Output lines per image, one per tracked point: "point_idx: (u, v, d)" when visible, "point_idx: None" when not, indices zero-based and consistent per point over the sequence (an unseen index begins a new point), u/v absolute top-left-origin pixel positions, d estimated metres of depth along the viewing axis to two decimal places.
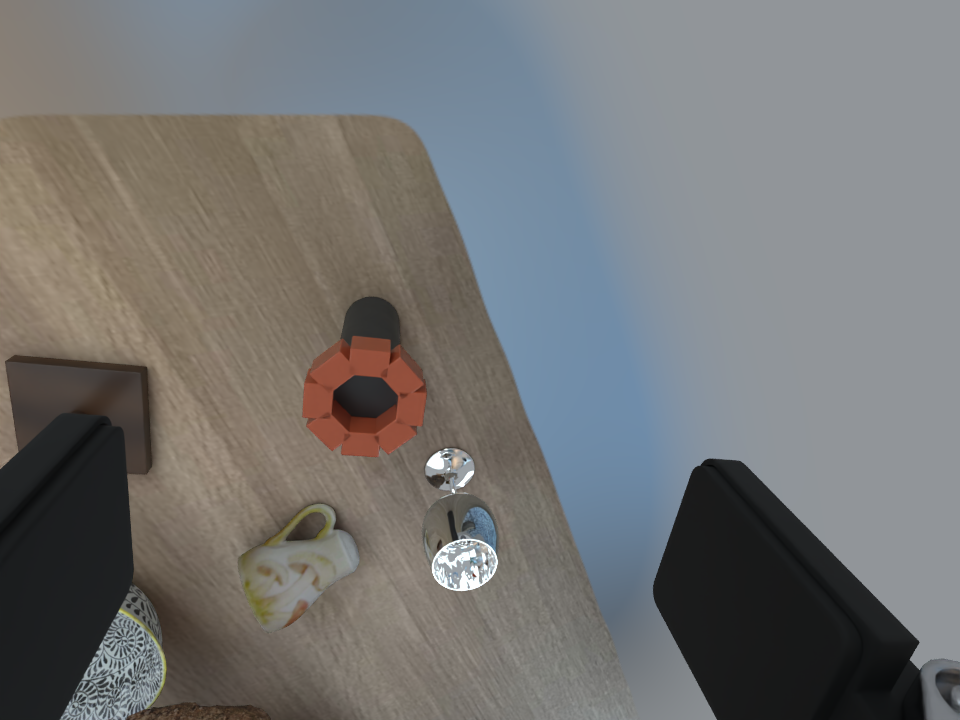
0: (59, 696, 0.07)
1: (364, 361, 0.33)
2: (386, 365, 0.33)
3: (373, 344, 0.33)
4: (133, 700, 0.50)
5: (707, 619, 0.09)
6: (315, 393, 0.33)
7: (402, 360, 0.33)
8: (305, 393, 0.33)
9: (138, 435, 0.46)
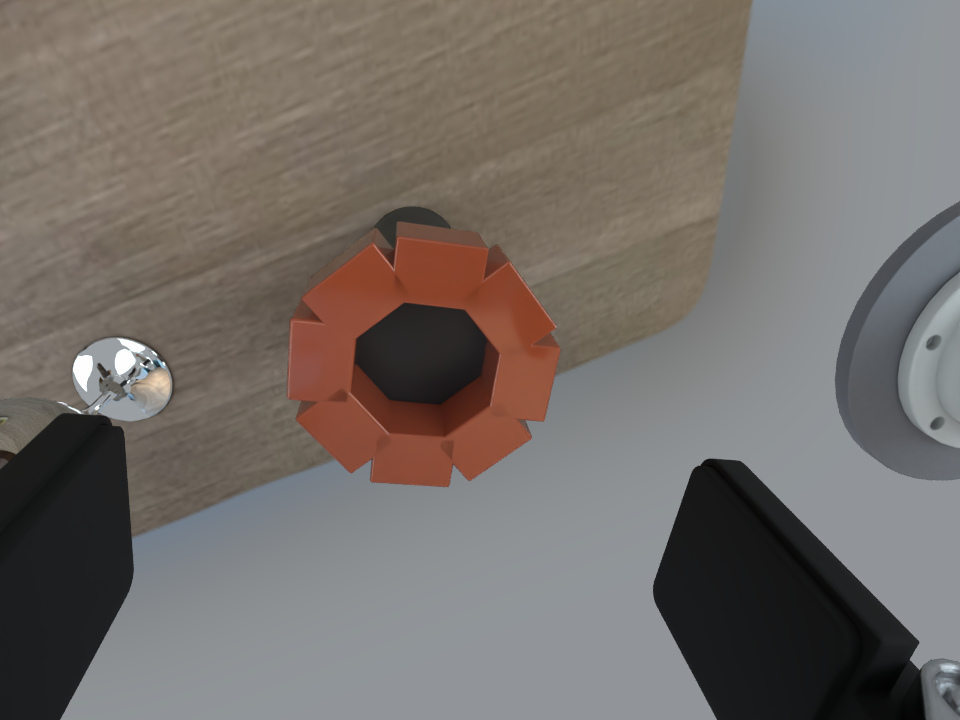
0: (59, 696, 0.07)
1: (529, 375, 0.16)
2: (517, 414, 0.16)
3: None
4: None
5: (707, 619, 0.09)
6: (460, 271, 0.14)
7: (524, 442, 0.16)
8: (462, 249, 0.14)
9: None
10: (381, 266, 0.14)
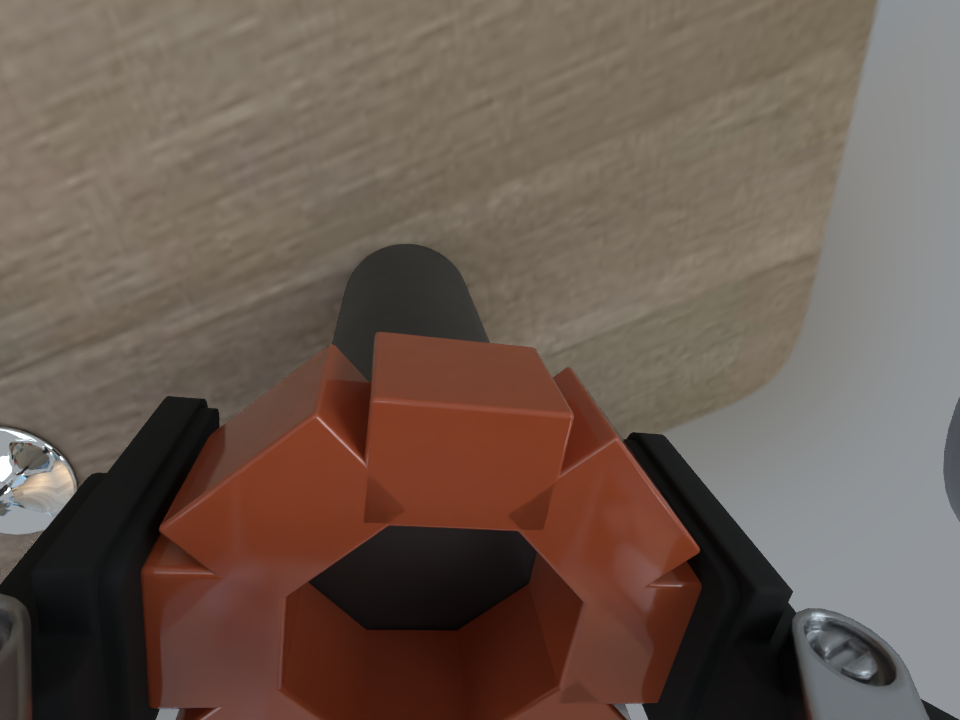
0: None
1: (639, 634, 0.08)
2: (609, 697, 0.08)
3: None
4: None
5: None
6: (512, 462, 0.07)
7: None
8: (516, 418, 0.06)
9: None
10: (337, 460, 0.06)
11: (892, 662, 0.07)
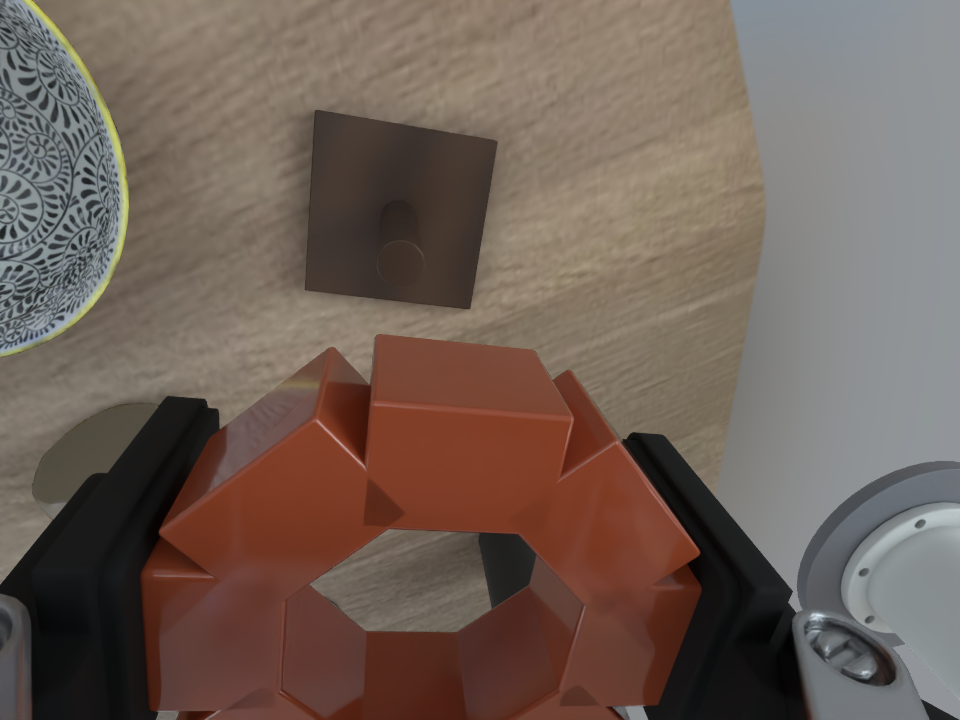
0: None
1: (639, 637, 0.08)
2: (609, 700, 0.08)
3: None
4: None
5: None
6: (512, 464, 0.07)
7: None
8: (516, 421, 0.06)
9: (373, 290, 0.32)
10: (336, 463, 0.06)
11: (892, 662, 0.07)
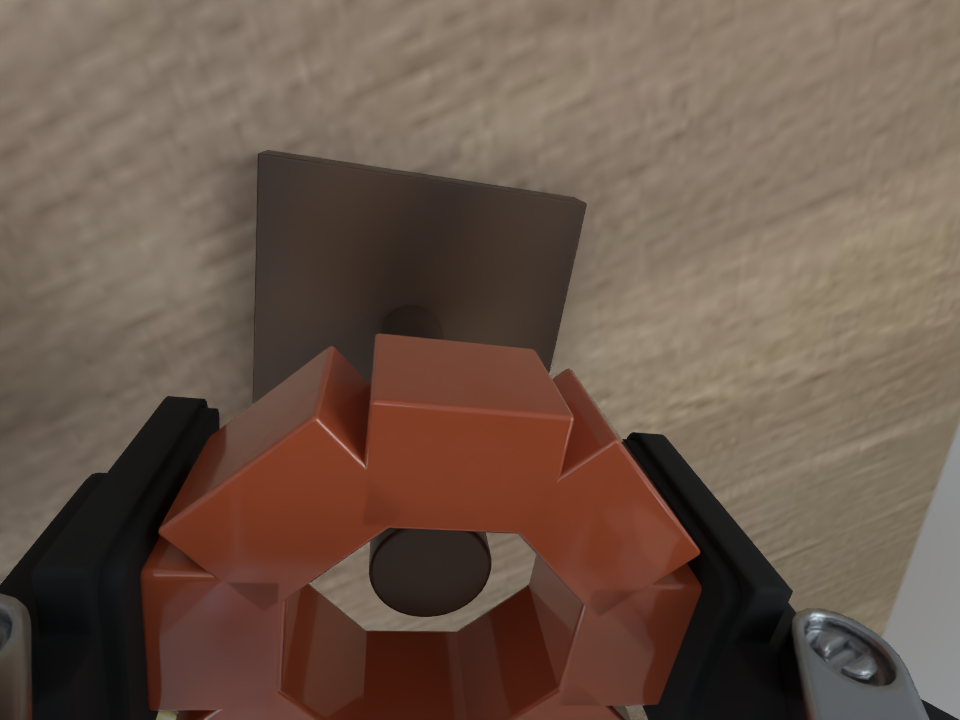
0: None
1: (639, 636, 0.08)
2: (609, 699, 0.08)
3: None
4: None
5: None
6: (512, 464, 0.07)
7: None
8: (516, 420, 0.06)
9: None
10: (336, 462, 0.06)
11: (892, 662, 0.07)
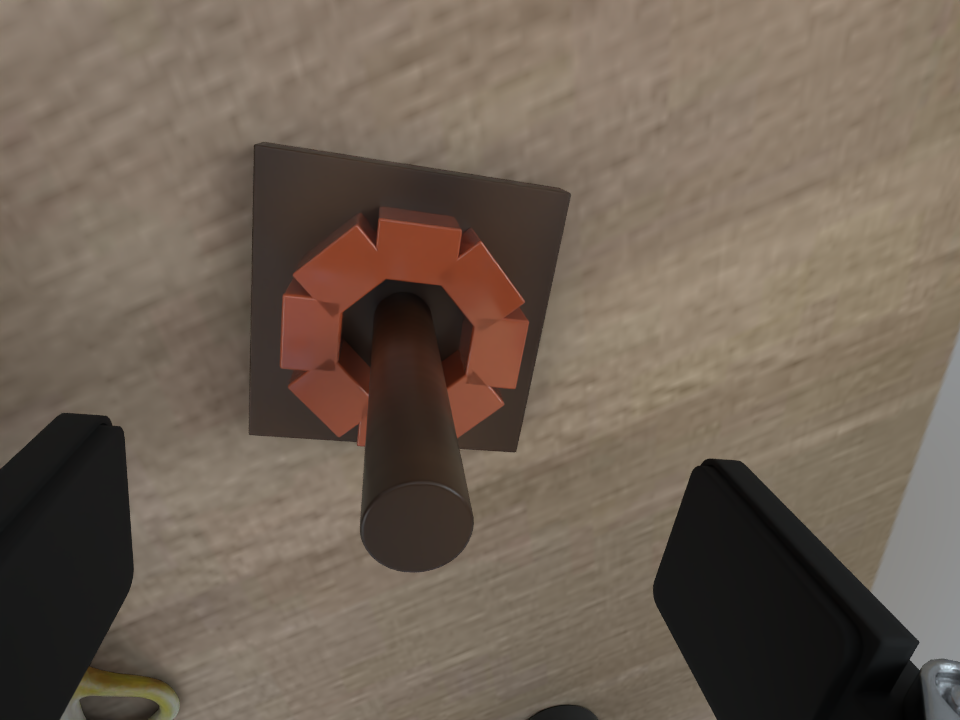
0: (59, 696, 0.07)
1: (501, 346, 0.17)
2: (490, 383, 0.18)
3: None
4: None
5: (708, 620, 0.09)
6: (437, 250, 0.16)
7: (497, 408, 0.18)
8: (437, 230, 0.16)
9: None
10: (365, 246, 0.15)
11: None
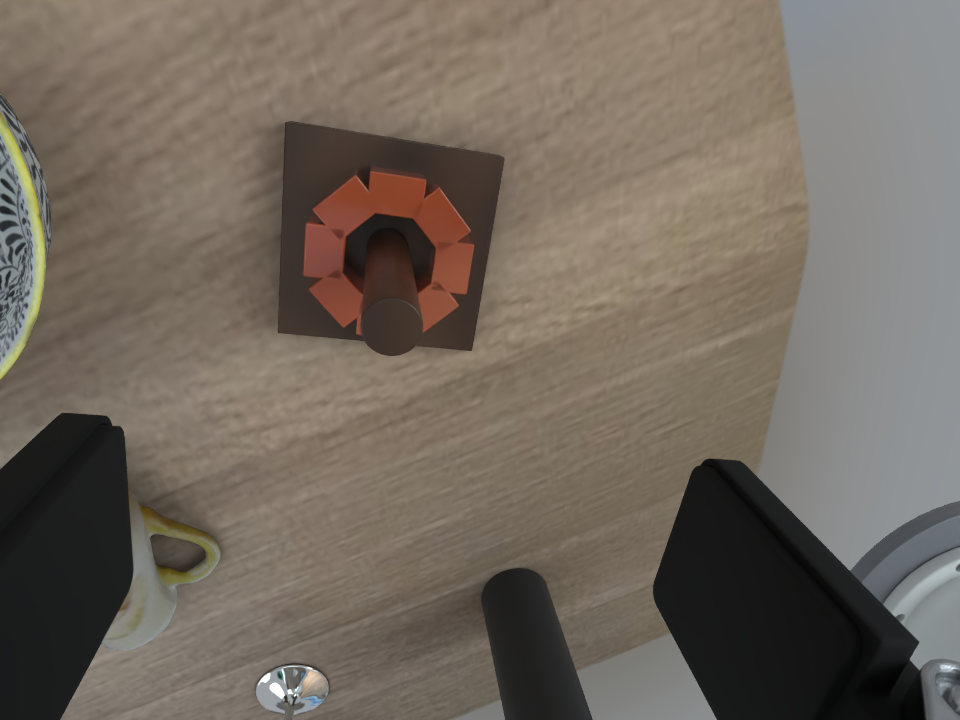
0: (59, 696, 0.07)
1: (455, 262, 0.25)
2: (448, 289, 0.25)
3: None
4: None
5: (707, 619, 0.09)
6: (409, 193, 0.23)
7: (454, 308, 0.26)
8: (409, 179, 0.23)
9: None
10: (361, 190, 0.23)
11: None
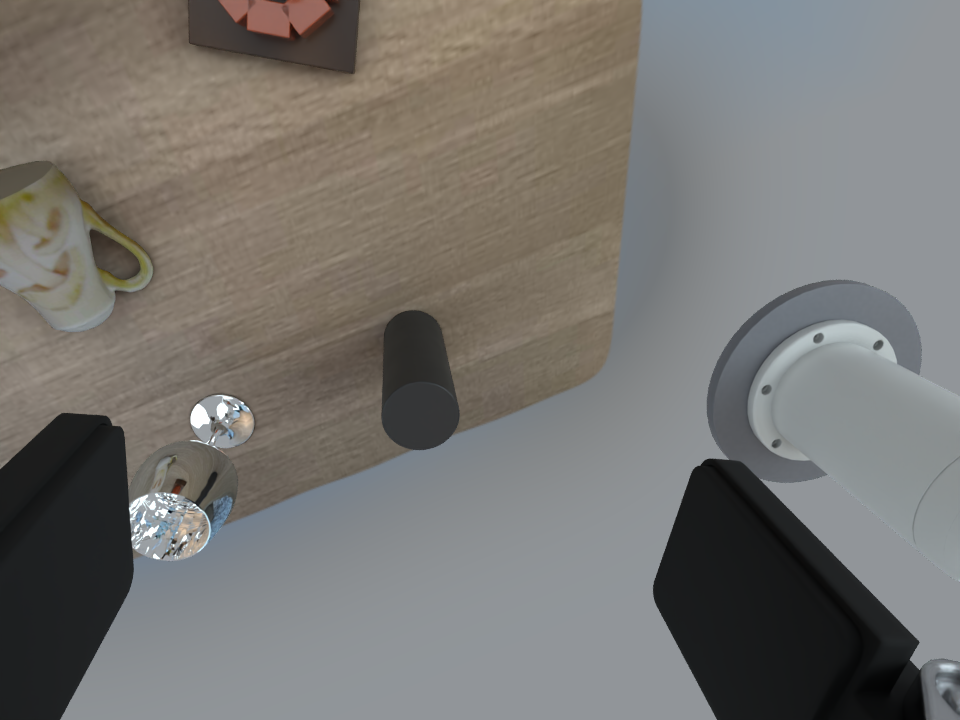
0: (59, 696, 0.07)
1: None
2: None
3: None
4: None
5: (707, 620, 0.09)
6: None
7: (327, 11, 0.32)
8: None
9: (256, 47, 0.34)
10: None
11: None
